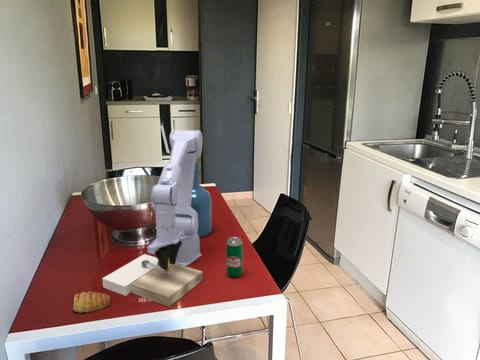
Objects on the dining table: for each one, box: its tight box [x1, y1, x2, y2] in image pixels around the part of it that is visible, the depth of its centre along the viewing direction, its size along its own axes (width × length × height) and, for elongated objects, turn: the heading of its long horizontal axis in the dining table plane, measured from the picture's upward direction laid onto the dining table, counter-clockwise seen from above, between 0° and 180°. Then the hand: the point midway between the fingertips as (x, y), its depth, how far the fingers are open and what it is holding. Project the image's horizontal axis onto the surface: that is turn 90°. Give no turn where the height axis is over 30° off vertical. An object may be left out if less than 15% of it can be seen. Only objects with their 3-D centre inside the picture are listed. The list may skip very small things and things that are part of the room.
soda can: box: [225, 236, 244, 279], centre depth 123 cm, size 5×5×12 cm
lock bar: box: [142, 258, 171, 275], centre depth 121 cm, size 11×2×5 cm, turn 57°
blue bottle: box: [177, 158, 213, 238], centre depth 153 cm, size 14×13×30 cm
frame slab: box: [101, 253, 158, 297], centre depth 122 cm, size 18×9×3 cm, turn 151°
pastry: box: [72, 290, 111, 314], centre depth 108 cm, size 9×7×4 cm
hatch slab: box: [130, 263, 204, 308], centre depth 118 cm, size 16×14×3 cm
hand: (168, 266), depth 119 cm, fingers open, 3 cm apart
